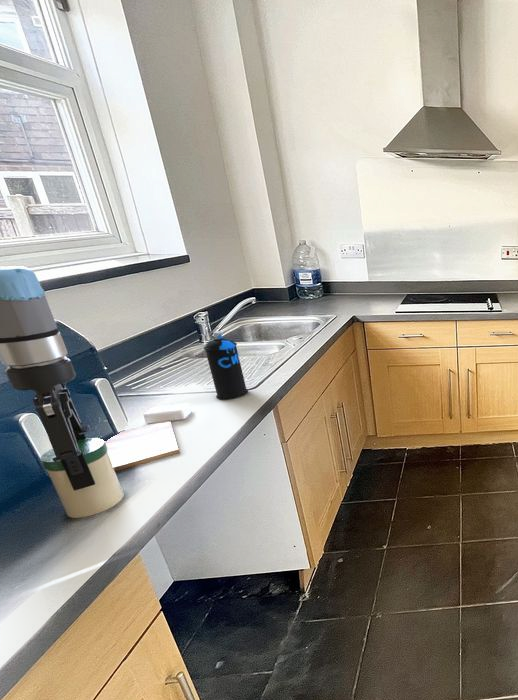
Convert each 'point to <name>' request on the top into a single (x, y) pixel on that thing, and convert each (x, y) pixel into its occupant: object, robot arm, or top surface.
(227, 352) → the aerosol can
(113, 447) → the white flat board
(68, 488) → the jar
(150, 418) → the soap
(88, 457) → the lid
